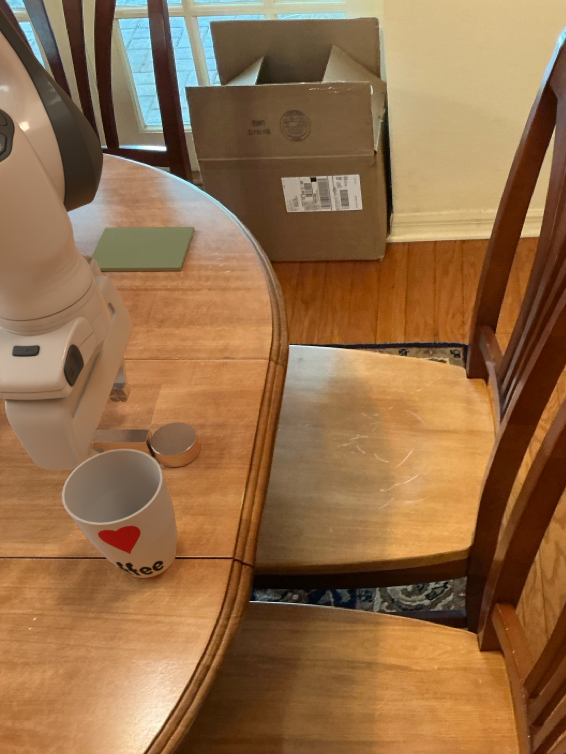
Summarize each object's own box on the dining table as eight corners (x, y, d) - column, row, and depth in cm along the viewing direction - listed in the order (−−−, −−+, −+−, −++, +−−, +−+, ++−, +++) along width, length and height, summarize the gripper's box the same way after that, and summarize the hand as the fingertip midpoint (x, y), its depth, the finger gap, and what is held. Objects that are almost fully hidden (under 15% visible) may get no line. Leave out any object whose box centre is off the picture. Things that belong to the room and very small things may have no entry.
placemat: (87, 271, 97) (86, 268, 97) (106, 230, 102) (104, 227, 102) (181, 270, 97) (180, 267, 96) (194, 230, 102) (194, 226, 101)
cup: (87, 578, 69) (41, 510, 61) (133, 511, 74) (96, 439, 66) (166, 602, 68) (129, 535, 60) (208, 531, 72) (180, 460, 64)
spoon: (71, 467, 78) (62, 452, 76) (83, 434, 80) (75, 419, 78) (196, 467, 77) (190, 452, 75) (204, 434, 80) (199, 419, 78)
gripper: (53, 245, 72) (106, 360, 83) (-25, 399, 60) (49, 509, 71) (119, 244, 71) (163, 360, 82) (54, 398, 59) (116, 509, 70)
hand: (110, 430), depth 76 cm, fingers open, 8 cm apart
